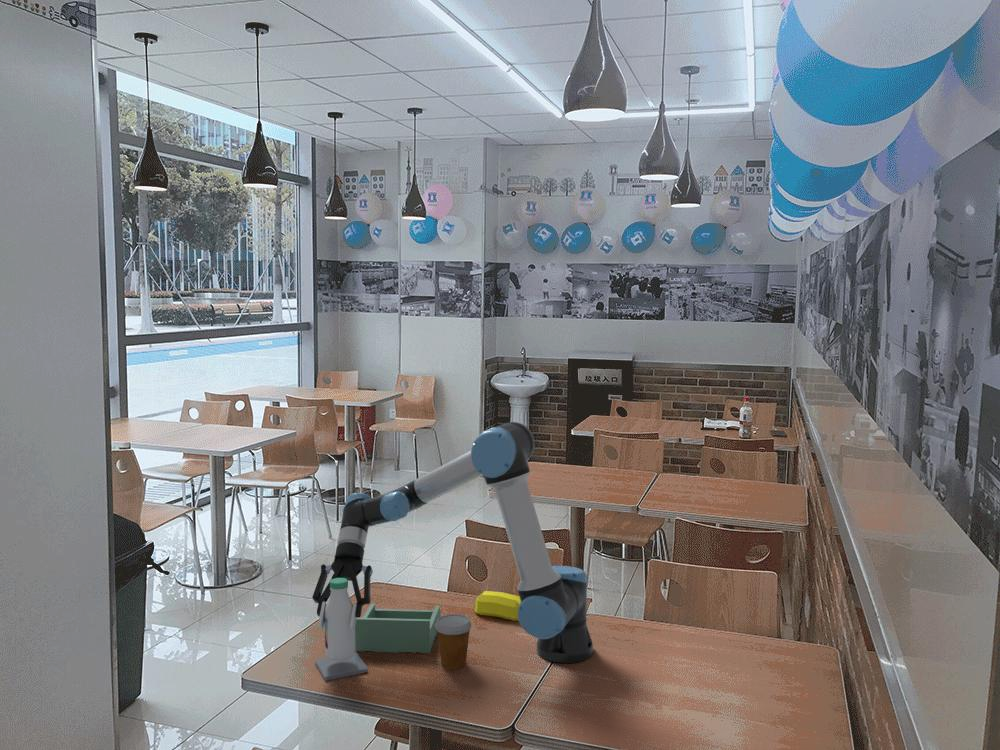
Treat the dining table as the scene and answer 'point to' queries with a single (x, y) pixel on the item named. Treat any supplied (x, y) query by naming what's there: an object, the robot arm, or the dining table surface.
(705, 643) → the dining table surface
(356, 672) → the slate tile
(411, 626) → the green wooden frame
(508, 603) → the yellow faceted block
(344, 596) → the milk bottle
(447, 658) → the disposable coffee cup
